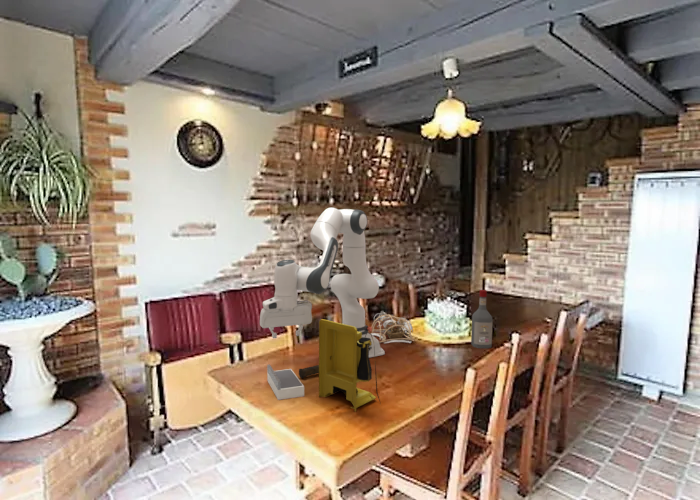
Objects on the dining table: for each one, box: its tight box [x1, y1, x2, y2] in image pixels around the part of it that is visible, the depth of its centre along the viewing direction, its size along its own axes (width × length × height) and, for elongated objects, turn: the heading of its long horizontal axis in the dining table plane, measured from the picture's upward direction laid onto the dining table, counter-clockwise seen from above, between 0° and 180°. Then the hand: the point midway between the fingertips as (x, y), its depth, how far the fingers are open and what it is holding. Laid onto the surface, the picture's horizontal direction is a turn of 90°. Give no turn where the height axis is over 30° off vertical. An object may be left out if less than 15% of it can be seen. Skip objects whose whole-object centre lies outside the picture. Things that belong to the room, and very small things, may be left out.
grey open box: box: [266, 364, 305, 401], centre depth 174 cm, size 10×20×7 cm, turn 22°
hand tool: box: [298, 364, 319, 379], centre depth 189 cm, size 19×4×5 cm, turn 126°
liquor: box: [470, 289, 494, 349], centre depth 228 cm, size 9×9×30 cm
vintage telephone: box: [318, 318, 382, 412], centre depth 163 cm, size 31×14×30 cm, turn 48°
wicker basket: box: [369, 310, 415, 344], centre depth 244 cm, size 28×35×16 cm
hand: (286, 336), depth 172 cm, fingers open, 8 cm apart
